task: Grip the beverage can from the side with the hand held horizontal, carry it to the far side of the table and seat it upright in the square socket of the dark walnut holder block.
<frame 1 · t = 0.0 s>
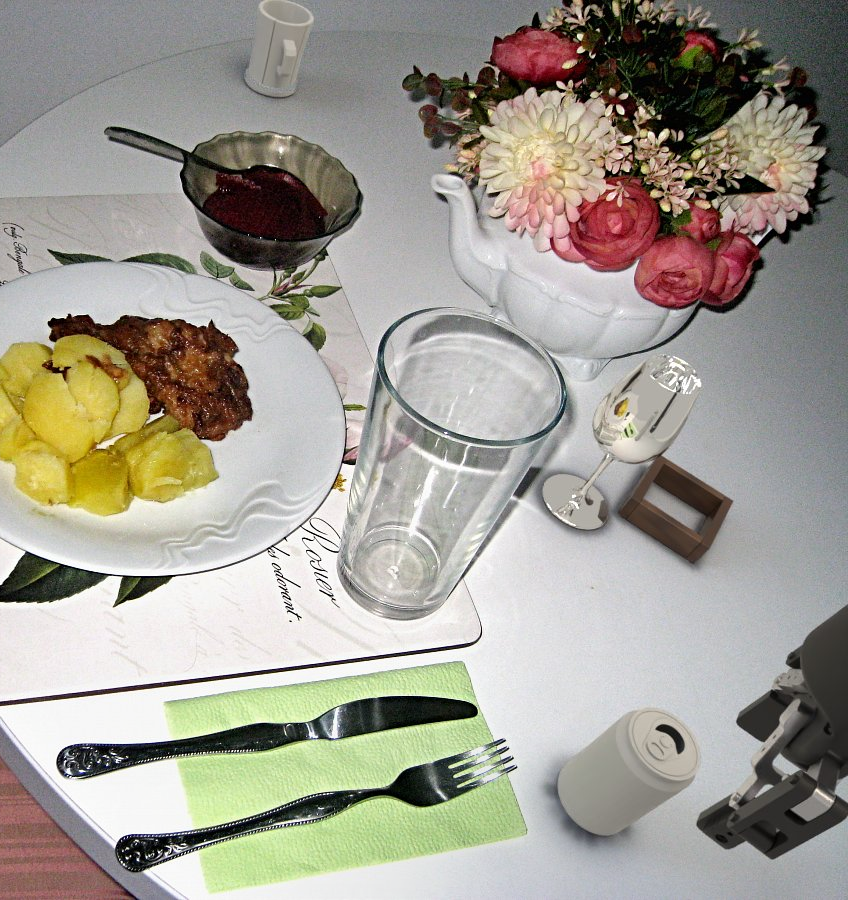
hand: (732, 778, 54), 22 cm above the table, tool pointing down, fingers open, 8 cm apart
cup: (272, 88, 148), on the table
holder: (668, 515, 100), on the table
wineglass: (573, 503, 99), on the table
beverage can: (587, 800, 76), on the table
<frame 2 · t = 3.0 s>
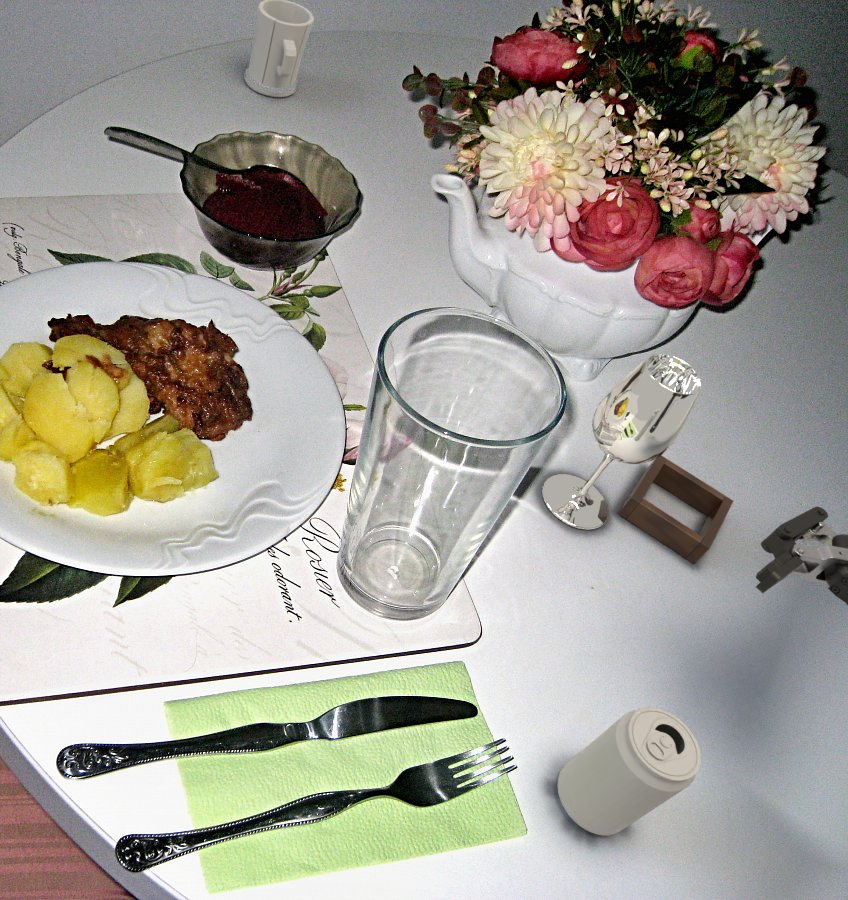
hand: (812, 629, 66), 20 cm above the table, tool horizontal, fingers open, 8 cm apart
nothing on the table moved.
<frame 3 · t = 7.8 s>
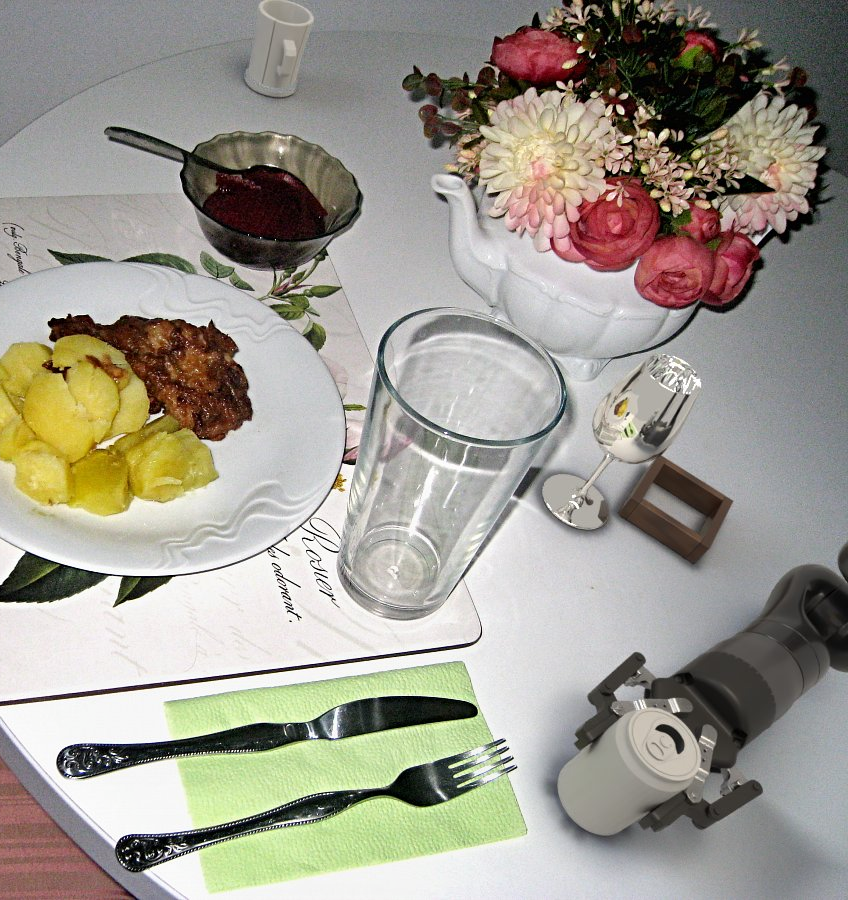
hand: (613, 782, 69), 7 cm above the table, tool horizontal, fingers closed on beverage can, 6 cm apart
beverage can: (587, 800, 76), on the table, touching gripper
everything else where it was.
when the fingers open (7 cm above the table, at t = 22.7 s): beverage can stays where it is, resting in holder.
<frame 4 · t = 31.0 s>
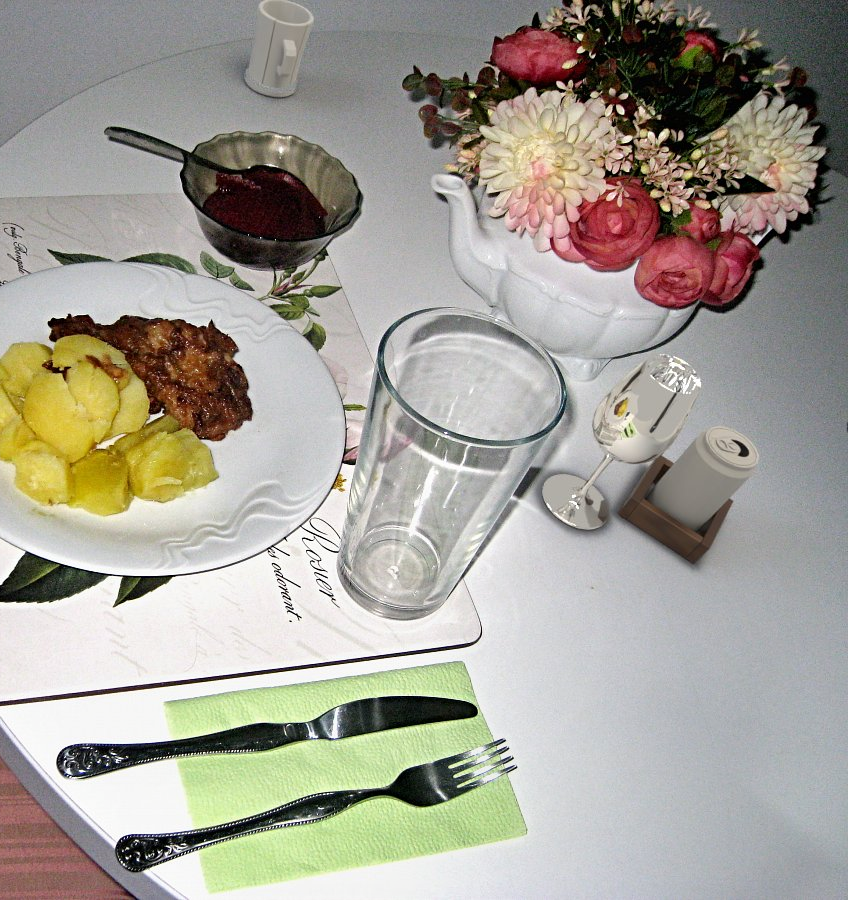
beverage can: (668, 516, 100), resting in holder
everything else where it was.
at the end: beverage can 0.1 cm off-centre in the holder, point 0.0 cm above the holder's base; beverage can tilted 0°; the gripper is holding nothing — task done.
